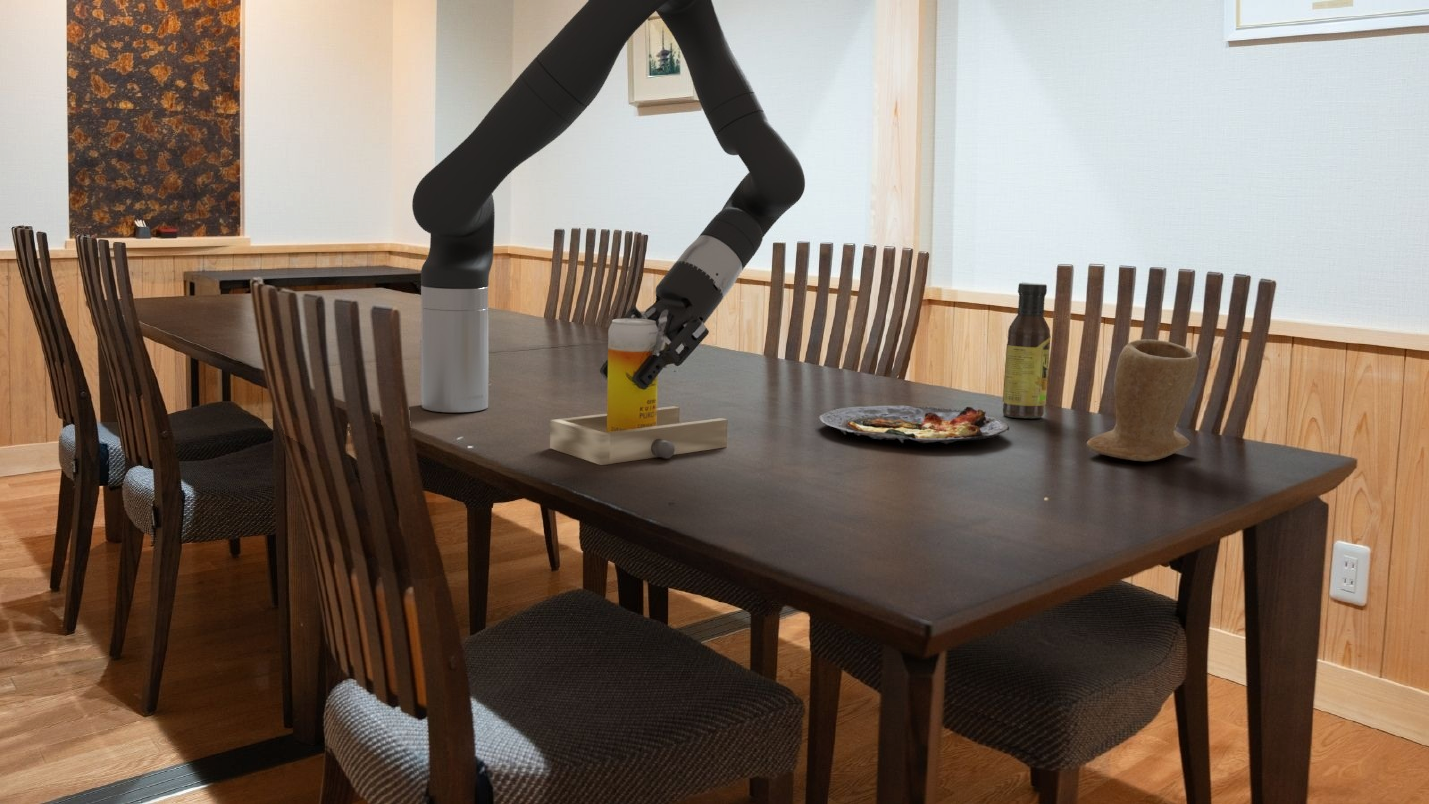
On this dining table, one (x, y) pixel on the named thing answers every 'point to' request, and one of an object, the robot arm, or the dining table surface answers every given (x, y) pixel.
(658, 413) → the wooden stick frame
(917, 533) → the dining table surface
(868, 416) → the food plate
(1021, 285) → the sauce bottle
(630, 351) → the beer can
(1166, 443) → the stone cup
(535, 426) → the dining table surface
